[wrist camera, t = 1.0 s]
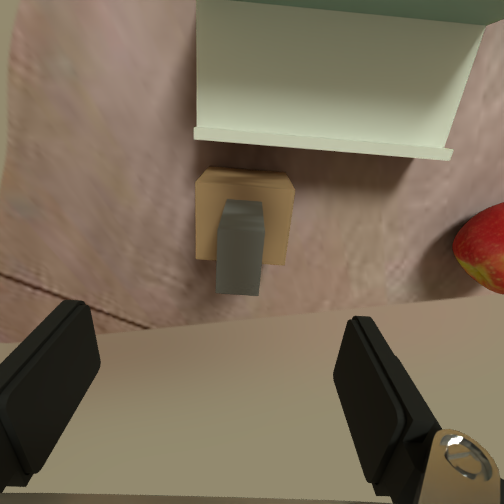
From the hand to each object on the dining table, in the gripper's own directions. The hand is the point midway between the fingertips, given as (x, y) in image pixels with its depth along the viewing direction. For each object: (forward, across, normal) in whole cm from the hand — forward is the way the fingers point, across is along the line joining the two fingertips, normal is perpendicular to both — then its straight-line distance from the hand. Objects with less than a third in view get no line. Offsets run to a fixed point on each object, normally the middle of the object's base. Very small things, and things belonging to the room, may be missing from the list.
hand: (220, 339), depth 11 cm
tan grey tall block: (+19, -1, 0) cm, 19 cm away
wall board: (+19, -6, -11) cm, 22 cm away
